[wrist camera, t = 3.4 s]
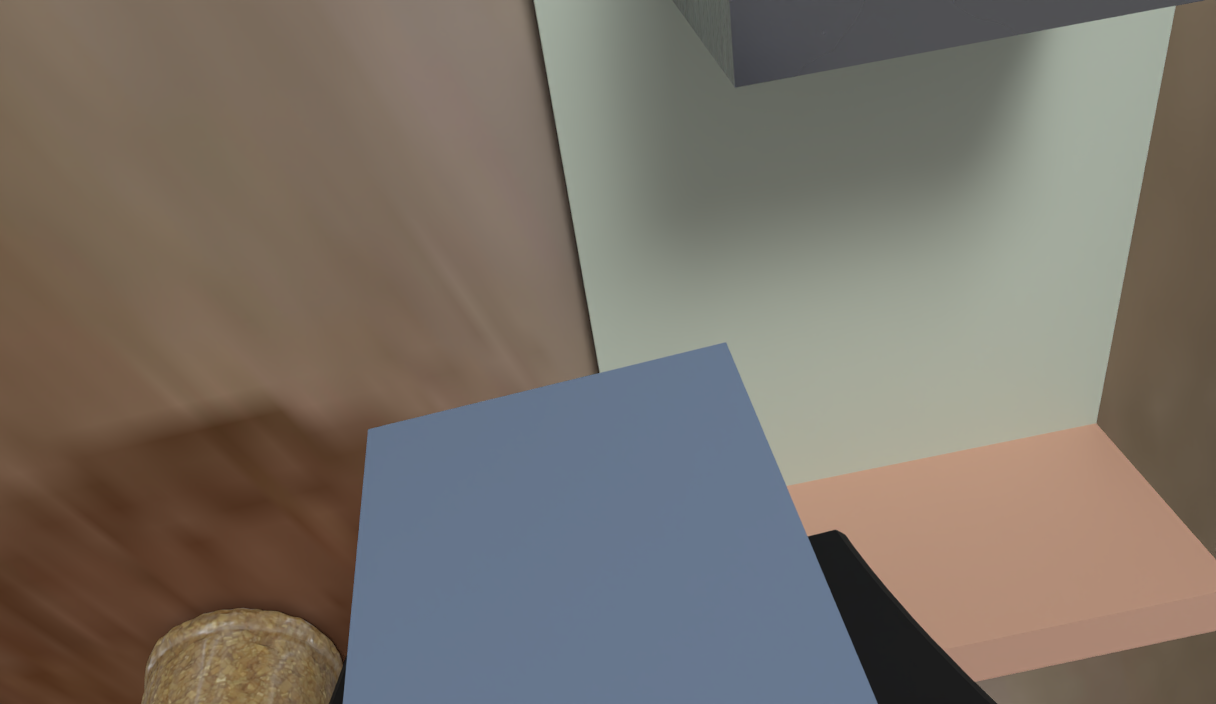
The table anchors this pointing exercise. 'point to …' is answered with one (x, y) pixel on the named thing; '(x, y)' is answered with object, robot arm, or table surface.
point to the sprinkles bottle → (242, 661)
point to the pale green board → (900, 302)
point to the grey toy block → (870, 29)
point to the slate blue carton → (592, 553)
